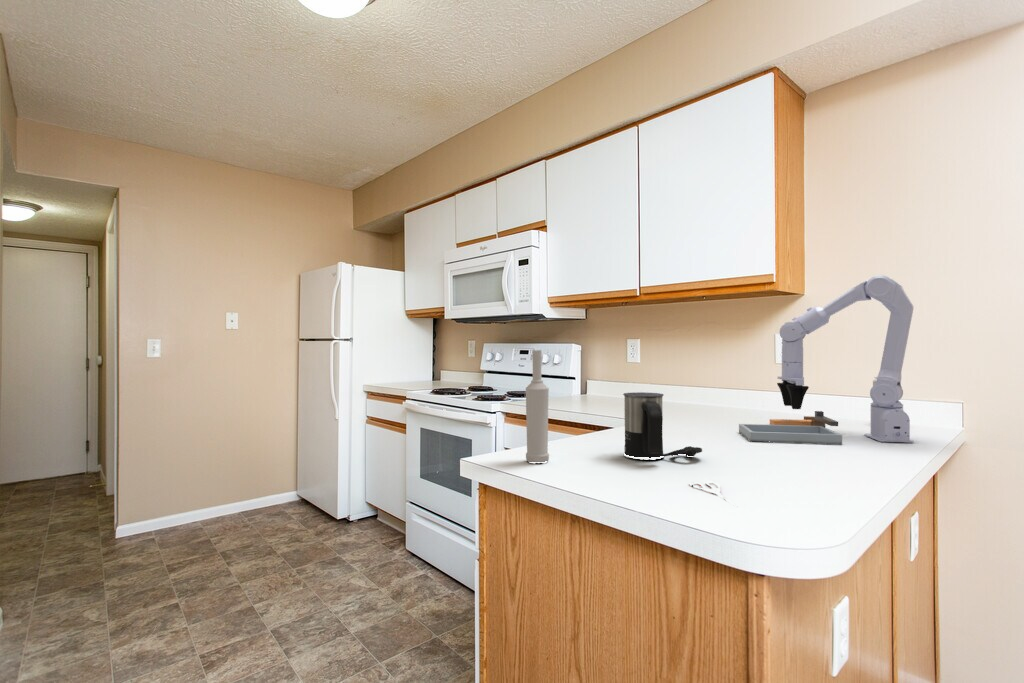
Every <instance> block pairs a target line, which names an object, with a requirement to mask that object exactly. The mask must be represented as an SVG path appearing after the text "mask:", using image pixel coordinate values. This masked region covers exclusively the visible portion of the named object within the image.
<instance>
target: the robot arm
mask: <svg viewBox="0 0 1024 683" xmlns="http://www.w3.org/2000/svg"><path fill="white" fill-rule="evenodd" d="M872 299H873V300H875V301H878V302H879V303H881V305H883V306H884V307H885V308H886V309H887V310H888V311H889V312H890V313H889V314H890V315H889V320H888V324H887V331H886V336H885V341H884V347H883V351H882V352H883V353H882V357H881V362H880V369H879V372H878V374H877V376H876V377H877V381H876V383H875V385H874V386H873V385H872V387H871V388H870V391H869V396H870V399H871V401H872V402H870V433H864V436H865V437H868V438H870V439H872V440H876V441H878V442H883V443H888V442H889V443H912V444H913V443H914V440H912V439H911V437H910V436H911V435H910V434H911V433H910V432H911V430H910V427H911V426H910V425H911V424H910V416H909V414H908V413H906V412H905V411H904V404H903V403H902V402H901V401H900V400H901V399H902V397H903V395H904V390H903V387H902V372H903V371H902V369H903V365H904V360H905V356H906V355H905V354H906V349H907V344H908V339H909V334H910V328H911V324H912V323H911V322H912V318H913V313H914V305H913V303H912V302H911V300H910V298H909V296H908V295H907V293H906V292H905V290H904V288H903V286H902V285H901V284H900V283H898V282H897V281H896V280H894V279H893V278H890V277H889V276H887V275H882V274H881V275H880V274H879V275H875V276H872V277H871V278H869V279H868V280H865V281H863V282H860V283H859V284H856V286H854V287H852V288H850V289H849V290H847V291H846V292H844V293H843V294H841V295H840V296H837V298H835V299H834V300H832V301H831V302H829V303H827V304H826V305H824V306H823V307H822V306H821V307H820V306H814V307H809V308H806V312H805V313H803V314H802V315H800V316H797V317H793V318H792V319H791V320H792V321H788V322H784V324H783V325H781V327H780V328H779V336H780V338H781V340H782V341H781V375H780V376H777V379H778V380H781V382H776V384H777V386H778V388H779V390H780V394H781V397H782V403H783V405H784V406H785V407H791V408H792V410H801V409H802V407H803V406H802V405H803V401H804V398H805V395H806V393H807V391H808V390H809V388H810V387H809V386H807V385H805V377H804V339H805V338H806V335H809V334H811V333H813V332H815V331H817V330H818V329H820V328H822V327H824V326H825V325H827V324H828V323H829V320H830V317H831V316H833V315H835V314H837V313H838V312H840V311H842V310H844V309H846V308H848V307H850V306H851V305H853V304H855V303H857V302H862V301H872ZM873 401H874V402H873Z"/></svg>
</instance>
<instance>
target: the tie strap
mask: <svg viewBox="0 0 1024 683" xmlns="http://www.w3.org/2000/svg"><path fill="white" fill-rule="evenodd" d="M814 417H815V419H816V420H818V421H820V422H823V423H825V425H827V426H830V427H839V421H838V420H835V419H832V418H830V417H827V416H825V415H824V411H823V410H816V411H814Z"/></svg>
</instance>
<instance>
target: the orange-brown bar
mask: <svg viewBox="0 0 1024 683" xmlns="http://www.w3.org/2000/svg"><path fill="white" fill-rule="evenodd" d="M769 425H798V426H812V420H804V419H785V418H784V419H782V418H781V419H780V418H779V419H778V418H774V419H771V418H769Z"/></svg>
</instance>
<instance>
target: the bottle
mask: <svg viewBox="0 0 1024 683" xmlns="http://www.w3.org/2000/svg"><path fill="white" fill-rule="evenodd" d="M531 354H532V380H531V381H530V383H529V384H528V385H527V386H526V387H525V416H526V417H525V418H526V453H525V459H526V462H527V461H528V462H545V461H548V462H549V459H550V457H549V456H550V455H549V454H550V453H549V452H548V450H549V449H548V448H549V447H548V442H549V440H548V439H549V392H550V391H549V390H550V389H549V387H548V386H547V385H545V383H544V380H543V379H542V349H535V350H532V353H531Z"/></svg>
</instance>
